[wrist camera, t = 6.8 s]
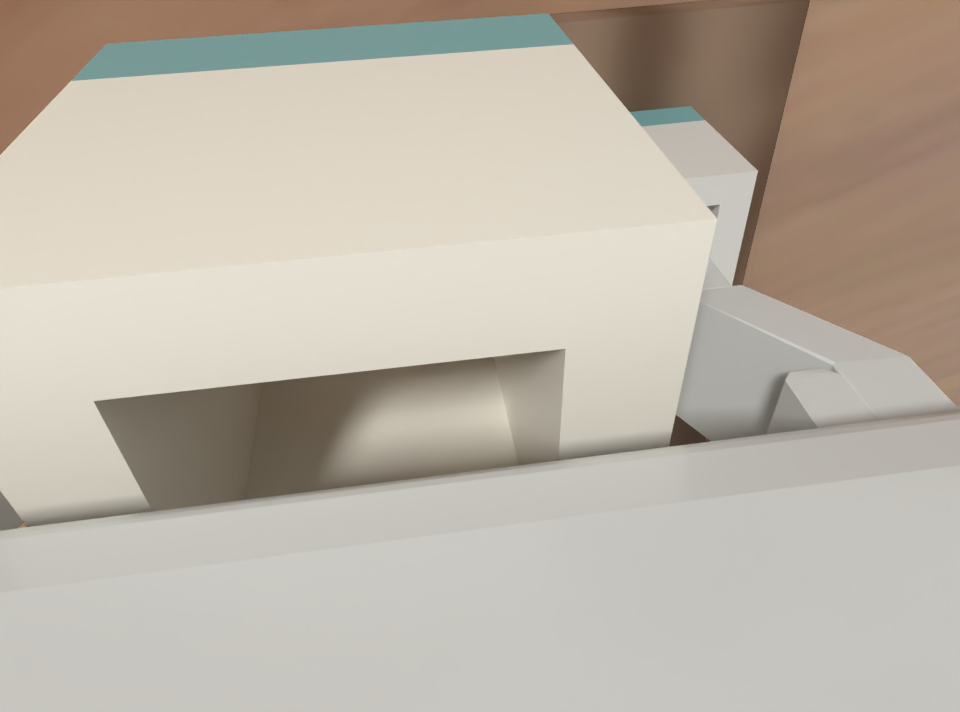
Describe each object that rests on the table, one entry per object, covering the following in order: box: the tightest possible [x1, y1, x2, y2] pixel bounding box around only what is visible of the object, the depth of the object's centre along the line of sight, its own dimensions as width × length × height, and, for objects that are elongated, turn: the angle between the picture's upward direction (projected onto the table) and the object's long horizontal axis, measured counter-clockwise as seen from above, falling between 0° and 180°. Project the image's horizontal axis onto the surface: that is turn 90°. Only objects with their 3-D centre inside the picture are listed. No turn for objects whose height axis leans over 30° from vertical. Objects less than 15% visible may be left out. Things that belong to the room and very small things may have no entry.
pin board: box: [549, 0, 810, 447], centre depth 32 cm, size 14×26×7 cm, turn 2°
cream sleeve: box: [0, 13, 717, 527], centre depth 9 cm, size 6×6×6 cm
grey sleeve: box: [630, 106, 758, 286], centre depth 27 cm, size 6×6×6 cm
